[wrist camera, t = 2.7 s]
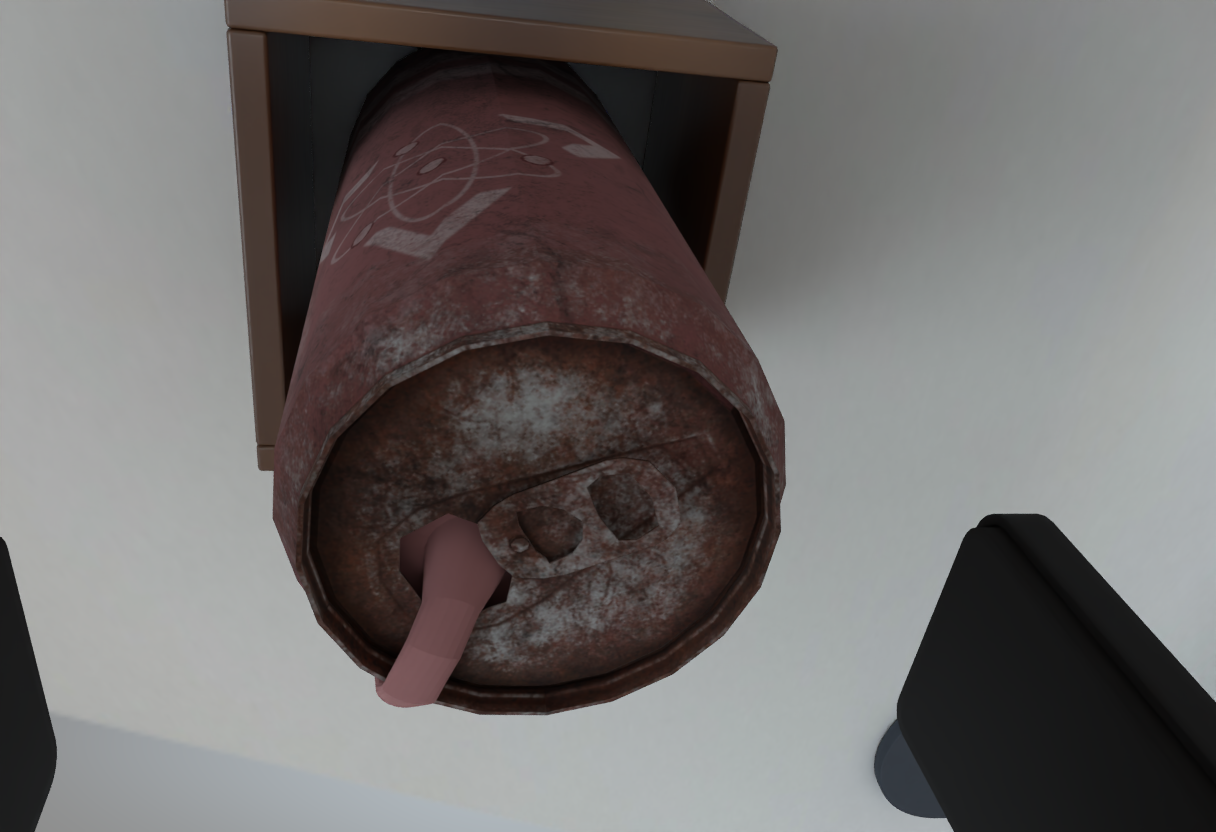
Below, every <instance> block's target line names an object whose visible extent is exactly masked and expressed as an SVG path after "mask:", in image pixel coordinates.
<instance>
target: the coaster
mask: <svg viewBox="0 0 1216 832" xmlns="http://www.w3.org/2000/svg"><path fill="white" fill-rule="evenodd" d="M874 768H875V776H876V779H877V782H878V784H879V786H880V788H881V790H882V792H883V794H884V796H885V798H886V799H887V800H888V801H889V802H890V803H891V804H892V805H893V806H895V807H896V808H897V809H899V810H901V811H903V812H905V813H908V814H911V815H914V816H919V817H925V818H946V816H945V814H944V812H943V810H942V808H941V807H940V805H939V803H938V801H937V799H936V797H935V795H934V793H933V792H932V790H931V788H930V786H929V784H928V782H927V780H926V778H925V777H924V775H923V773H922V771H921V769H920V767H919V765H918V763H917V762H916V760H915V758H914V756H913V754H912V752H911V750H910V748H909V746H908V745H907V743H906V741H905V739H904V737H903V735H902V733H901V730H900V728H899V724H898V719H897V720H896V721H895V722H894V724H893V725H892V726H891V727H890V728H889V730H888V731H887V733H886V734H885V736H884V737H883V739H882V741H881V743H880V745H879V747H878V749H877V753H876V756H875V763H874Z"/></svg>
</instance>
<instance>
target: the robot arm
mask: <svg viewBox="0 0 1216 832" xmlns="http://www.w3.org/2000/svg"><path fill="white" fill-rule="evenodd" d="M897 719H898V724H899V728H900V730H901V733H902V735H903V737H904V739H905V741H906V743H907V745H908V746H909V748H910V750H911V752H912V754H913V756H914V758H915V760H916V762H917V763H918V765H919V767H920V769H921V771H922V773H923V775H924V777H925V778H926V780H927V782H928V784H929V786H930V788H931V790H932V792H933V793H934V795H935V797H936V799H937V801H938V803H939V805H940V807H941V808H942V810H943V812H944V814H945V816H946V818H947V820H948V822H949V823H950V825H951V827H952V829H953V831H954V832H1216V702H1215V701H1214V700H1213V699H1212V698H1211V697H1210V695H1209V694H1208V693H1207V692H1206V691H1205V690H1204V689H1203V688H1202V687H1201V686H1200V684H1199V683H1198V682H1197V681H1196V680H1195V679H1194V678H1193V677H1192V676H1191V674H1190V673H1189V672H1188V671H1187V670H1186V669H1185V668H1184V667H1183V666H1182V665H1181V663H1180V662H1179V661H1178V660H1177V659H1176V658H1175V657H1174V656H1173V655H1172V653H1171V652H1170V651H1169V650H1168V649H1167V648H1166V647H1165V646H1164V645H1163V643H1162V642H1161V641H1160V640H1159V639H1158V638H1157V637H1156V636H1155V635H1154V634H1153V632H1152V631H1151V630H1150V629H1149V628H1148V627H1147V626H1146V625H1145V624H1144V622H1143V621H1142V620H1141V619H1140V618H1139V617H1138V616H1137V615H1136V614H1135V613H1134V611H1133V610H1132V609H1131V608H1130V607H1129V606H1128V605H1127V604H1126V603H1125V601H1124V600H1123V599H1122V598H1121V597H1120V596H1119V595H1118V594H1117V593H1116V592H1115V590H1114V589H1113V588H1112V587H1111V586H1110V585H1109V584H1108V583H1107V582H1106V580H1105V579H1104V578H1103V577H1102V576H1101V575H1100V574H1099V573H1098V572H1097V570H1096V569H1095V568H1094V567H1093V566H1092V565H1091V564H1090V563H1089V562H1088V561H1087V559H1086V558H1085V557H1084V556H1083V555H1082V554H1081V553H1080V552H1079V551H1078V549H1077V548H1076V547H1075V546H1074V545H1073V544H1072V543H1071V542H1070V541H1069V540H1068V538H1067V537H1066V536H1065V535H1064V534H1063V533H1062V532H1061V531H1060V530H1059V528H1058V527H1057V526H1056V525H1055V524H1054V523H1053V522H1052V521H1051V520H1050V519H1048V518H1047V517H1046V516H1043V515H1040V514H991V515H987V516H985V517H984V518H983V519H982V520H981V521H980V522H979V524H978V526H977V527H976V528H972V529H970V530H969V531H968V532H967V533H966V535H965V537H964V538H963V541H962V543H961V546H960V548H959V551H958V553H957V556H956V558H955V560H954V563H953V565H952V568H951V570H950V573H949V575H948V578H947V580H946V583H945V585H944V588H943V590H942V593H941V595H940V597H939V600H938V602H937V605H936V607H935V610H934V612H933V615H932V617H931V620H930V622H929V625H928V627H927V629H926V632H925V634H924V637H923V639H922V642H921V644H920V647H919V649H918V652H917V654H916V657H915V659H914V662H913V664H912V666H911V669H910V671H909V674H908V676H907V679H906V681H905V684H904V686H903V689H902V691H901V694H900V696H899V699H898V703H897ZM56 760H57V746H56V740H55V736H54V732H53V728H52V724H51V720H50V716H49V711H48V707H47V703H46V699H45V695H44V691H43V687H42V683H41V679H40V675H39V671H38V667H37V663H36V659H35V655H34V651H33V647H32V643H31V639H30V635H29V631H28V627H27V623H26V619H25V615H24V611H23V607H22V603H21V599H20V595H19V591H18V587H17V583H16V579H15V575H14V571H13V567H12V563H11V559H10V555H9V551H8V548H7V545H6V543H5V541H4V540H3V539H2V537H0V832H34V831H35V829H36V826H37V823H38V821H39V818H40V815H41V812H42V810H43V807H44V804H45V802H46V799H47V796H48V794H49V791H50V788H51V785H52V782H53V778H54V774H55V769H56Z"/></svg>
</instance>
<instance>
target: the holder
mask: <svg viewBox="0 0 1216 832" xmlns="http://www.w3.org/2000/svg"><path fill="white" fill-rule="evenodd" d="M224 5H225V19H226V24H227V26H228V27H229V28H228V30H227V46H228V60H229V74H230V87H231V101H232V115H233V129H234V143H235V156H236V170H237V184H238V198H239V212H240V225H241V239H242V253H243V267H244V281H245V294H246V308H247V322H248V336H249V349H250V363H251V377H252V391H253V405H254V418H255V432H256V442H257V460H258V468H259V470H261V471H274V448H275V444H276V440H277V436H278V432H279V428H280V424H281V419H282V415H283V411H284V407H285V403H286V399H287V395H288V390H289V386H290V382H291V378H292V374H293V370H294V366H295V362H296V357H297V353H298V349H299V345H300V341H301V337H302V333H303V329H304V324H305V320H306V316H307V312H308V308H309V304H310V300H311V296H312V291H313V287H314V283H315V279H316V253H315V220H314V188H313V156H312V124H311V92H310V59H309V36H315V37H325V38H334V39H344V40H354V41H364V42H374V43H384V44H394V45H404V46H414V47H424V48H433V49H443V50H453V51H463V52H473V53H483V54H493V55H503V56H513V57H523V58H532V59H542V60H552V61H562V62H572V63H582V64H592V65H602V66H612V67H622V68H631V69H641V70H651V71H658V72H657V78H656V85H655V92H654V99H653V105H652V112H651V119H650V126H649V133H648V139H647V146H646V153H645V160H644V166H643V172H644V174H645V176H646V177H647V179H648V180H649V182H650V184H651V185H652V187H653V189H654V190H655V192H656V194H657V195H658V197H659V198H660V200H661V202H662V203H663V205H664V207H665V208H666V210H667V212H668V213H669V215H670V216H671V218H672V220H673V221H674V223H675V225H676V226H677V228H678V230H679V231H680V233H681V234H682V236H683V238H684V239H685V241H686V243H687V244H688V246H689V247H690V249H691V251H692V252H693V254H694V256H695V257H696V259H697V261H698V262H699V264H700V265H701V267H702V269H703V270H704V272H705V274H706V275H707V277H708V279H709V280H710V282H711V283H712V285H713V287H714V288H715V290H716V292H717V293H718V295H719V297H720V298H721V300H722V301H723V303H724V305H725V302H726V297H727V293H728V288H729V283H730V278H731V273H732V268H733V264H734V259H735V254H736V249H737V244H738V240H739V235H740V230H741V225H742V220H743V215H744V211H745V206H746V201H747V196H748V191H749V187H750V182H751V177H752V172H753V167H754V162H755V158H756V153H757V148H758V143H759V138H760V134H761V129H762V124H763V119H764V114H765V109H766V105H767V100H768V95H769V90H770V84H769V83H768V82H769V81H771V79H772V76H773V71H774V66H775V61H776V57H777V52H778V49H777V47H776V46H775V45H773V44H772V43H770V42H769V41H767V40H766V39H764V38H762V37H761V36H759V35H758V34H756V33H755V32H753V31H752V30H750V29H749V28H747V27H746V26H744V25H742V24H741V23H739V22H738V21H736V20H735V19H733V18H732V17H730V16H729V15H727V14H726V13H724V12H722V11H721V10H719V9H718V8H716V7H715V6H713V5H712V4H710V3H709V2H707V1H706V0H224Z"/></svg>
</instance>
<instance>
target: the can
mask: <svg viewBox="0 0 1216 832" xmlns="http://www.w3.org/2000/svg"><path fill="white" fill-rule="evenodd" d="M785 486H786V475H785V423H784V419H783V417H782V414H781V412H780V410H779V407H778V405H777V403H776V400H775V398H774V396H773V393H772V391H771V389H770V386H769V384H768V382H767V379H766V377H765V375H764V372H763V370H762V368H761V365H760V363H759V361H758V359H757V357H756V355H755V354H754V352H753V350H752V349H751V347H750V346H749V344H748V342H747V341H746V339H745V337H744V336H743V334H742V333H741V331H740V329H739V328H738V326H737V324H736V323H735V321H734V319H733V318H732V316H731V315H730V313H729V311H728V310H727V308H726V306H725V305H724V303H723V301H722V300H721V298H720V297H719V295H718V293H717V292H716V290H715V288H714V287H713V285H712V283H711V282H710V280H709V279H708V277H707V275H706V274H705V272H704V270H703V269H702V267H701V265H700V264H699V262H698V261H697V259H696V257H695V256H694V254H693V252H692V251H691V249H690V247H689V246H688V244H687V243H686V241H685V239H684V238H683V236H682V234H681V233H680V231H679V230H678V228H677V226H676V225H675V223H674V221H673V220H672V218H671V216H670V215H669V213H668V212H667V210H666V208H665V207H664V205H663V203H662V202H661V200H660V198H659V197H658V195H657V194H656V192H655V190H654V189H653V187H652V185H651V184H650V182H649V180H648V179H647V177H646V176H645V174H644V172H643V171H642V169H641V167H640V166H639V164H638V162H637V161H636V159H635V158H634V156H633V154H632V153H631V151H630V149H629V148H628V146H627V144H626V143H625V141H624V140H623V138H622V136H621V135H620V133H619V131H618V130H617V128H616V126H615V125H614V123H613V122H612V120H611V118H610V117H609V115H608V113H607V112H606V110H605V109H604V107H603V105H602V104H601V102H600V100H599V99H598V97H597V95H596V94H595V93H594V92H593V91H592V90H591V89H590V88H589V87H588V86H587V84H586V83H585V82H584V81H583V80H582V79H581V78H580V77H579V76H578V75H577V74H576V73H575V72H574V71H573V69H572V68H571V67H570V66H569V65H568V64H567V63H566V62H562V61H552V60H542V59H532V58H523V57H513V56H503V55H493V54H483V53H473V52H463V51H453V50H443V49H433V48H422V49H420V50H418V51H416V52H414V53H412V54H411V55H409V56H407V57H405V58H403V59H401V60H399V61H397V62H396V63H395V65H394V66H393V67H392V68H391V69H390V70H389V71H388V72H387V73H386V74H385V76H384V77H383V78H382V79H381V80H380V81H379V82H378V83H377V84H376V85H375V87H374V88H373V89H372V90H371V91H370V92H369V93H368V94H367V96H366V99H365V101H364V104H363V106H362V108H361V111H360V113H359V115H358V118H357V120H356V123H355V125H354V127H353V130H352V132H351V135H350V139H349V143H348V147H347V151H346V155H345V159H344V163H343V168H342V172H341V176H340V180H339V184H338V188H337V192H336V196H335V201H334V205H333V209H332V213H331V217H330V221H329V225H328V230H327V234H326V238H325V242H324V246H323V250H322V254H321V258H320V263H319V267H318V271H317V275H316V279H315V283H314V287H313V291H312V296H311V300H310V304H309V308H308V312H307V316H306V320H305V324H304V329H303V333H302V337H301V341H300V345H299V349H298V353H297V357H296V362H295V366H294V370H293V374H292V378H291V382H290V386H289V390H288V395H287V399H286V403H285V407H284V411H283V415H282V419H281V424H280V428H279V432H278V436H277V440H276V444H275V448H274V486H273V520H274V523H275V525H276V528H277V530H278V533H279V535H280V538H281V540H282V543H283V545H284V548H285V551H286V553H287V556H288V558H289V561H290V563H291V566H292V568H293V571H294V573H295V576H296V578H297V581H298V582H299V583H300V585H301V586H302V587H303V589H304V590H305V592H306V595H307V597H308V600H309V602H310V605H311V607H312V610H313V612H314V615H315V617H316V620H317V622H318V624H319V625H320V626H321V627H322V628H323V629H324V630H325V631H326V633H327V634H328V635H329V636H330V637H331V638H332V639H333V640H334V641H335V642H336V643H337V644H338V645H339V646H340V648H341V649H342V650H343V651H344V652H345V653H346V654H347V655H348V656H349V657H350V658H351V659H352V660H353V661H354V663H355V664H356V665H357V666H358V667H359V668H360V669H362V670H364V671H366V672H368V673H369V674H371V675H373V676H375V684H376V692H377V694H378V696H379V697H380V698H381V699H382V700H383V701H384V702H386V703H388V704H390V705H393V706H396V707H403V708H404V707H415V706H421V705H428V704H432V703H434V704H439V705H443V706H447V707H451V708H455V709H459V710H463V711H467V712H471V713H475V714H479V715H550V714H554V713H559V712H564V711H569V710H574V709H578V708H583V707H588V706H593V705H597V704H602V703H607V702H612V701H614V700H617V699H619V698H621V697H623V696H626V695H628V694H630V693H632V692H634V691H637V690H639V689H641V688H643V687H646V686H648V685H650V684H652V683H655V682H657V681H659V680H661V679H663V678H666V677H668V676H670V675H672V674H674V673H675V672H676V671H678V670H679V669H680V668H682V667H683V666H684V665H686V664H687V663H688V662H690V661H691V660H692V659H693V658H695V657H696V656H697V655H699V654H700V653H701V652H703V651H704V650H705V649H707V648H708V647H709V646H711V645H712V644H713V643H714V642H716V641H717V640H718V639H720V638H721V637H722V636H724V634H725V633H726V632H727V630H728V629H729V628H730V626H731V625H732V624H733V623H734V621H735V620H736V619H737V617H738V616H739V615H740V613H741V612H742V611H743V610H744V608H745V607H746V606H747V604H748V603H749V602H750V600H751V599H752V598H753V597H754V595H755V594H756V593H757V591H758V590H759V589H760V587H761V585H762V582H763V580H764V577H765V574H766V571H767V569H768V566H769V563H770V560H771V557H772V555H773V552H774V549H775V546H776V543H777V541H778V538H779V535H780V532H781V520H780V503H781V500H782V496H783V493H784V489H785Z"/></svg>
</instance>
